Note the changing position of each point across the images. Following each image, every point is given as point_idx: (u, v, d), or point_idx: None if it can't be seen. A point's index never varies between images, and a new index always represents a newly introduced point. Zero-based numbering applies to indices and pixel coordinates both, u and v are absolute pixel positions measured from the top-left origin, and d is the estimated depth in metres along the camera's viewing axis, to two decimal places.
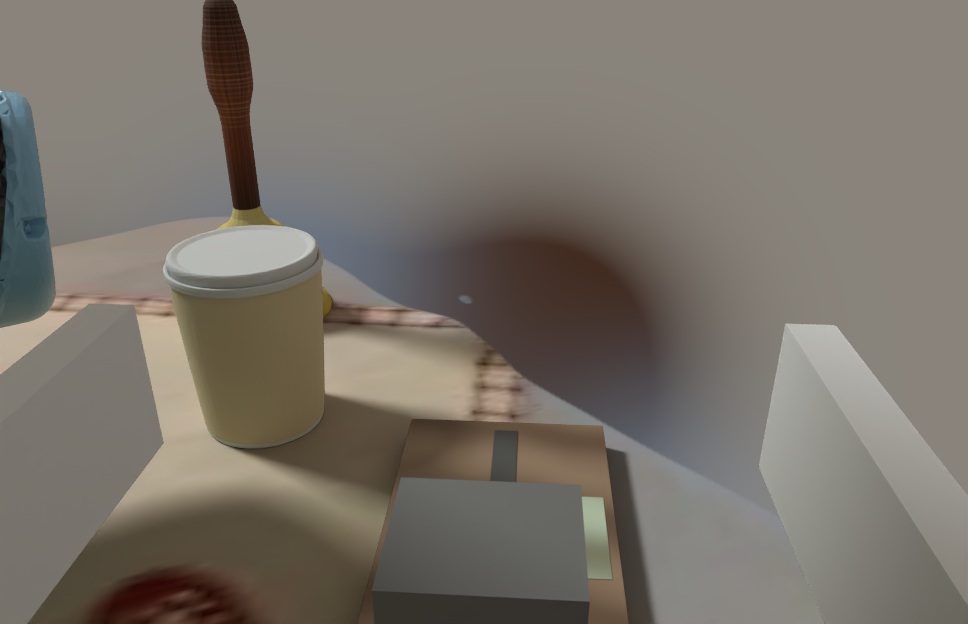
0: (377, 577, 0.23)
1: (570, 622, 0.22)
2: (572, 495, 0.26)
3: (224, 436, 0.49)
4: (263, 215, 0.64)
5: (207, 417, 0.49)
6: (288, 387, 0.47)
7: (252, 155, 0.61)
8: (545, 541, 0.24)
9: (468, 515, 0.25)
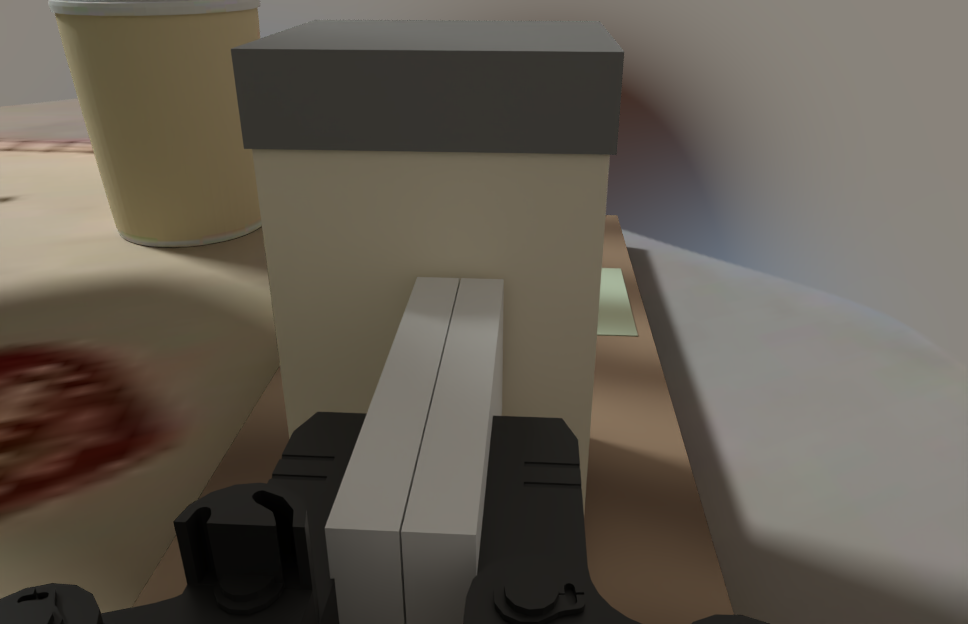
0: (246, 45, 0.13)
1: (588, 106, 0.12)
2: (586, 24, 0.16)
3: (135, 230, 0.38)
4: None
5: (114, 208, 0.38)
6: (214, 161, 0.37)
7: None
8: (543, 35, 0.14)
9: (415, 28, 0.15)
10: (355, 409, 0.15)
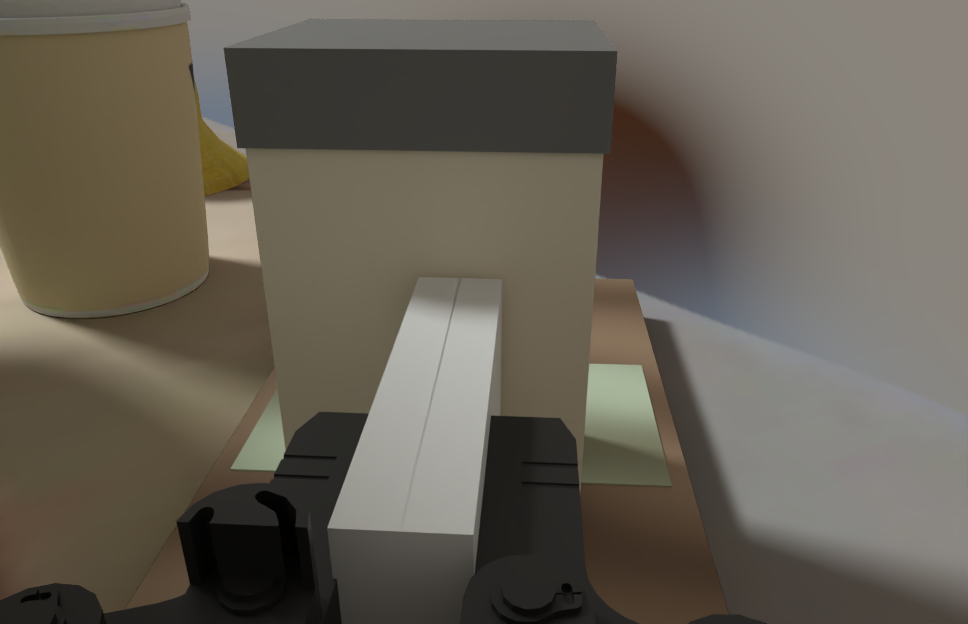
0: (239, 44, 0.13)
1: (582, 105, 0.12)
2: (581, 23, 0.16)
3: (35, 298, 0.31)
4: None
5: (11, 270, 0.31)
6: (131, 214, 0.30)
7: None
8: (537, 34, 0.14)
9: (410, 28, 0.15)
10: (350, 408, 0.15)
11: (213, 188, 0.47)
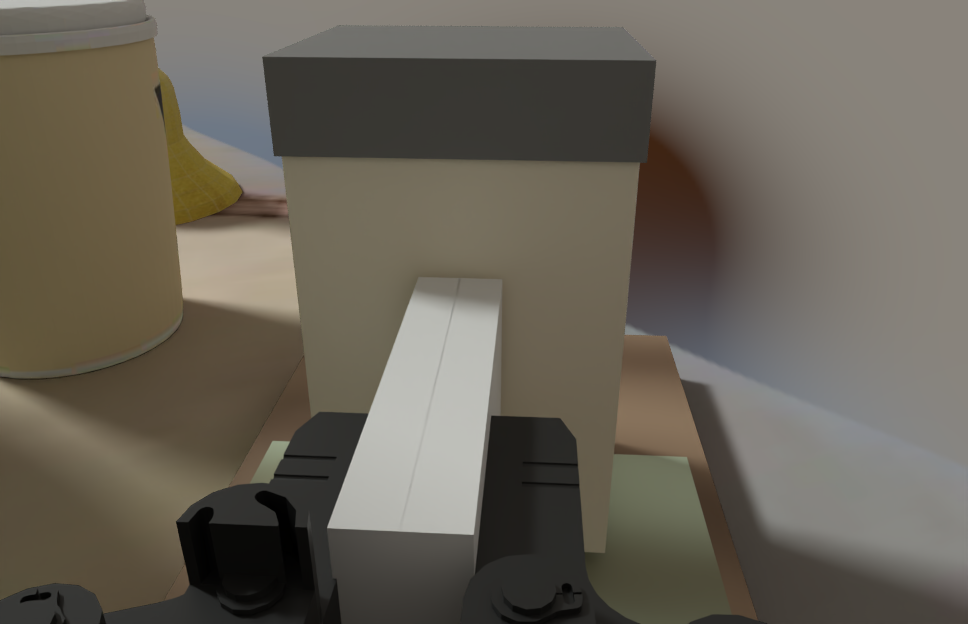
0: (276, 52, 0.13)
1: (619, 114, 0.12)
2: (611, 30, 0.16)
3: None
4: None
5: None
6: (86, 261, 0.26)
7: None
8: (571, 42, 0.14)
9: (441, 35, 0.15)
10: None
11: (195, 214, 0.43)
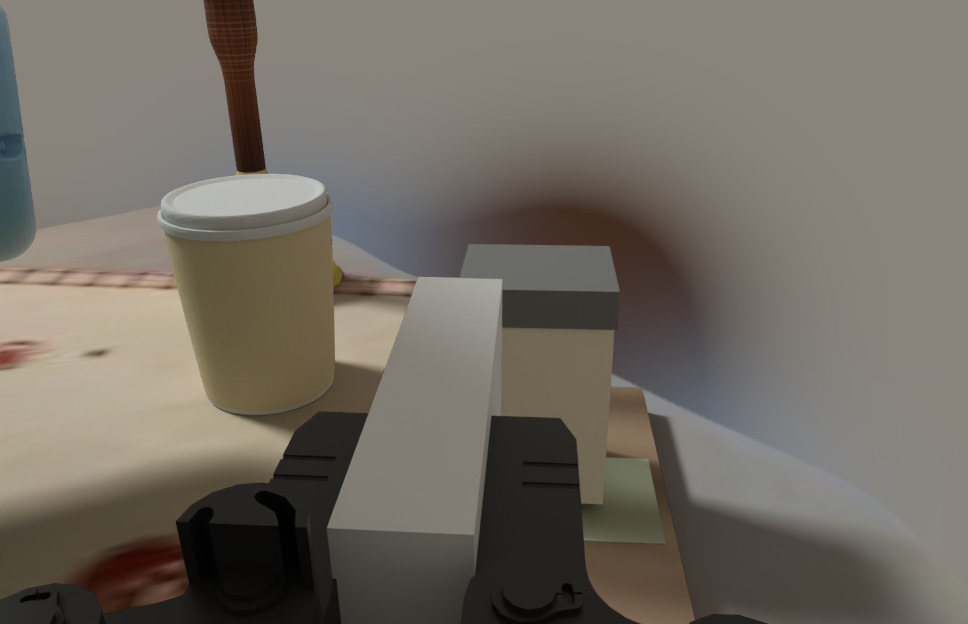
0: None
1: (605, 311, 0.30)
2: (603, 250, 0.33)
3: (224, 401, 0.44)
4: None
5: (206, 381, 0.44)
6: (295, 345, 0.43)
7: (257, 113, 0.58)
8: (584, 268, 0.31)
9: (523, 259, 0.33)
10: None
11: None
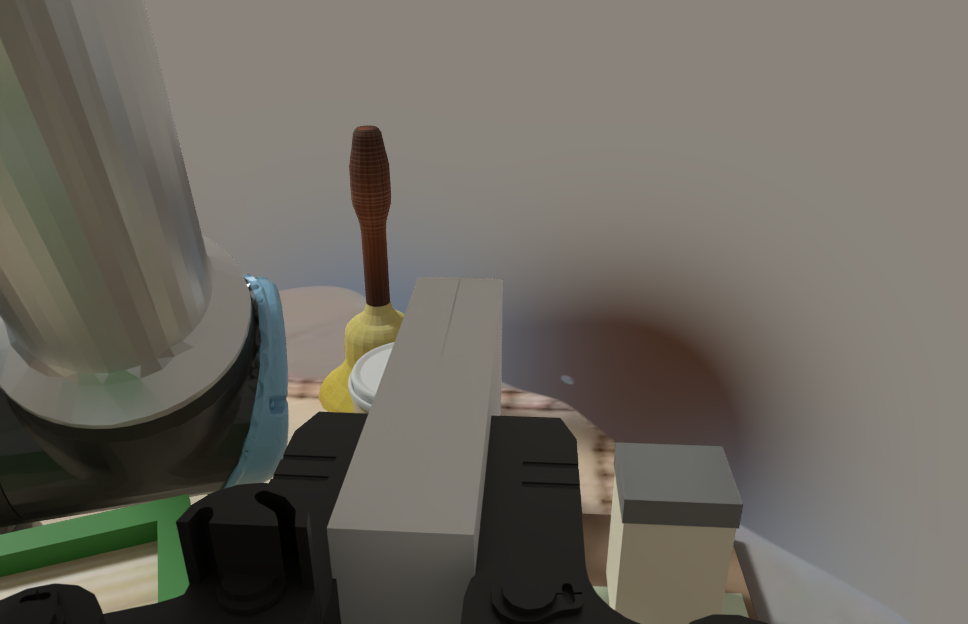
0: (624, 493, 0.42)
1: (731, 516, 0.41)
2: (718, 452, 0.45)
3: None
4: (392, 309, 0.71)
5: None
6: None
7: (386, 259, 0.69)
8: (710, 475, 0.43)
9: (662, 462, 0.44)
10: (641, 594, 0.44)
11: None
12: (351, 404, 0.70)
